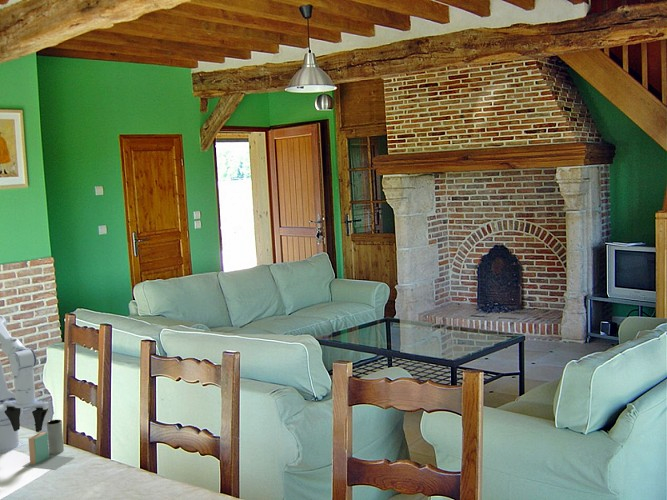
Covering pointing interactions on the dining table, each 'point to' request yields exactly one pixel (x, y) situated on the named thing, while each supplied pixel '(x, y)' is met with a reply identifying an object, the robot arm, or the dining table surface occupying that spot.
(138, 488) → the dining table surface
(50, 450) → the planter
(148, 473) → the dining table surface
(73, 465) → the dining table surface
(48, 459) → the mat
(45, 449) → the tile
